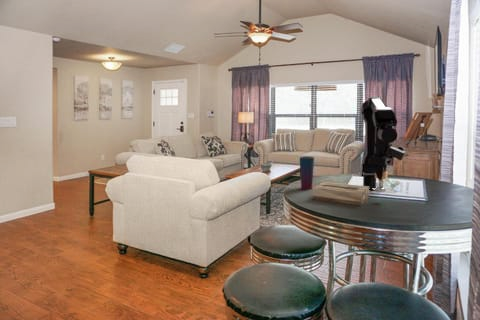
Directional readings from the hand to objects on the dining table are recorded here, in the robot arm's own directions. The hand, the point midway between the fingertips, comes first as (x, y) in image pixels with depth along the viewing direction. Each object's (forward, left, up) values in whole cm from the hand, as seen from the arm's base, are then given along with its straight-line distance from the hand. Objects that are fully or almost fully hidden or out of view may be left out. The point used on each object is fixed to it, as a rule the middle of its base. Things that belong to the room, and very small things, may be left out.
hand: (381, 178), depth 146 cm
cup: (-7, -35, -10) cm, 37 cm away
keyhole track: (+4, -15, -9) cm, 18 cm away
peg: (0, 0, -5) cm, 5 cm away
